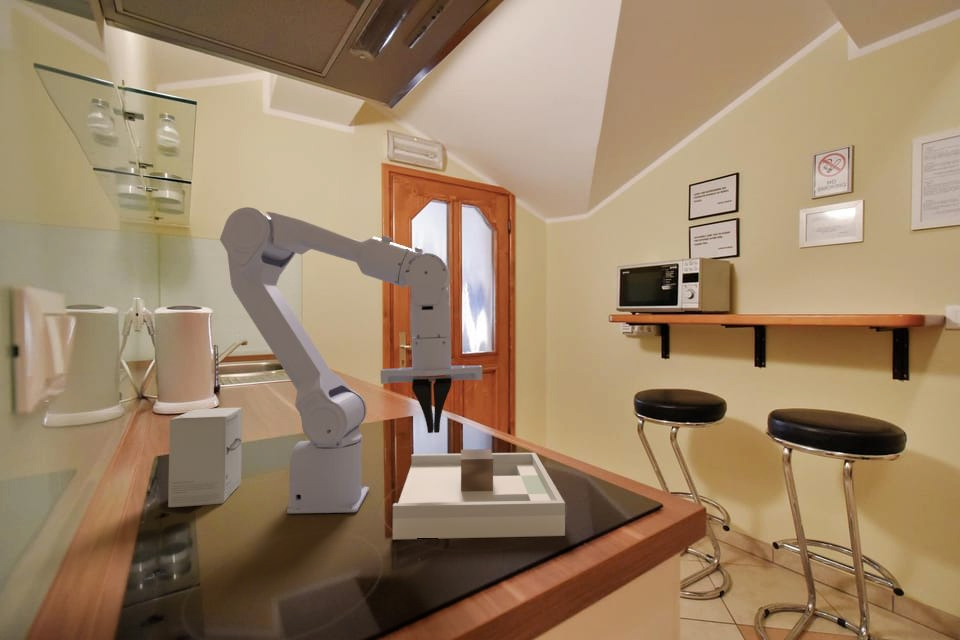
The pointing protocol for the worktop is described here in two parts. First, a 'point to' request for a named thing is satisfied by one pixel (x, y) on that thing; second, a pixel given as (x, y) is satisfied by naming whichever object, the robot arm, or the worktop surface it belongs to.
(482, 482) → the walnut block
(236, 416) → the supplement box
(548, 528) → the box
